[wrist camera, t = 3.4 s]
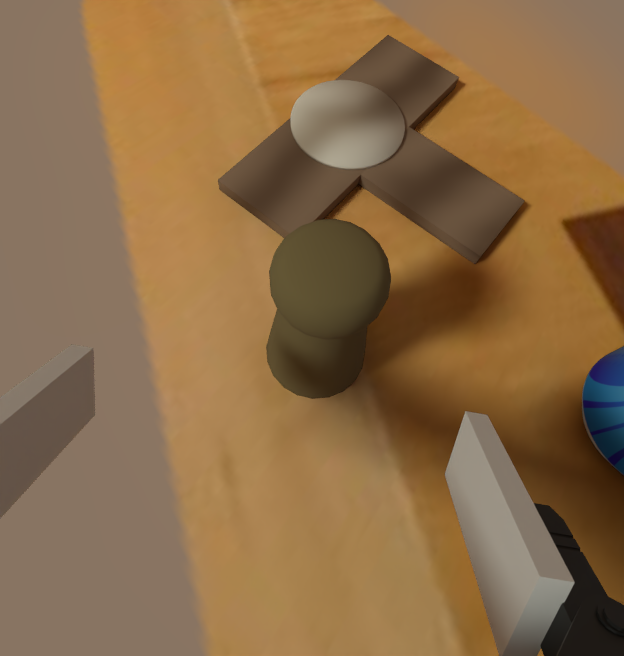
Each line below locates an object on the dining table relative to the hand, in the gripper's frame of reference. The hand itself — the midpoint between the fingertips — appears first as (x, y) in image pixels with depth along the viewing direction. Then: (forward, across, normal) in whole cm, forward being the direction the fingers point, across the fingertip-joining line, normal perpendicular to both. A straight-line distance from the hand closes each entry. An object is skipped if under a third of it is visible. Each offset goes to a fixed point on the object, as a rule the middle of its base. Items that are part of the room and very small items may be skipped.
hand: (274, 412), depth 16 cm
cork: (+12, +1, -3) cm, 13 cm away
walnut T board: (+23, +5, +8) cm, 24 cm away
